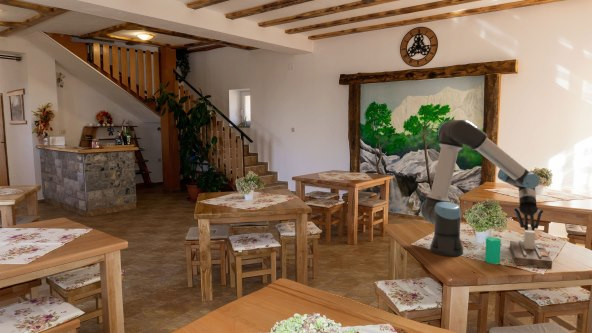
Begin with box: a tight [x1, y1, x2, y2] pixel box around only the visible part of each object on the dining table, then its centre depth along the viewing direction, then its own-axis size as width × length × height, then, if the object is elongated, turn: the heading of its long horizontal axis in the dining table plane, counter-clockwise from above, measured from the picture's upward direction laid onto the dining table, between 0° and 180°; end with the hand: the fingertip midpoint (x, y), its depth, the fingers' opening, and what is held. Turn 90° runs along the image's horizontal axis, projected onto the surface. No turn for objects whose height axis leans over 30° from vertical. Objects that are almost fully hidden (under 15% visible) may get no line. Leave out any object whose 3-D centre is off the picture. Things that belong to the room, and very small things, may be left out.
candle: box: [484, 235, 502, 265], centre depth 185 cm, size 6×6×12 cm
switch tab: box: [523, 229, 536, 249], centre depth 194 cm, size 4×4×8 cm
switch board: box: [509, 240, 553, 269], centre depth 192 cm, size 14×28×4 cm, turn 157°
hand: (530, 239), depth 197 cm, fingers closed
